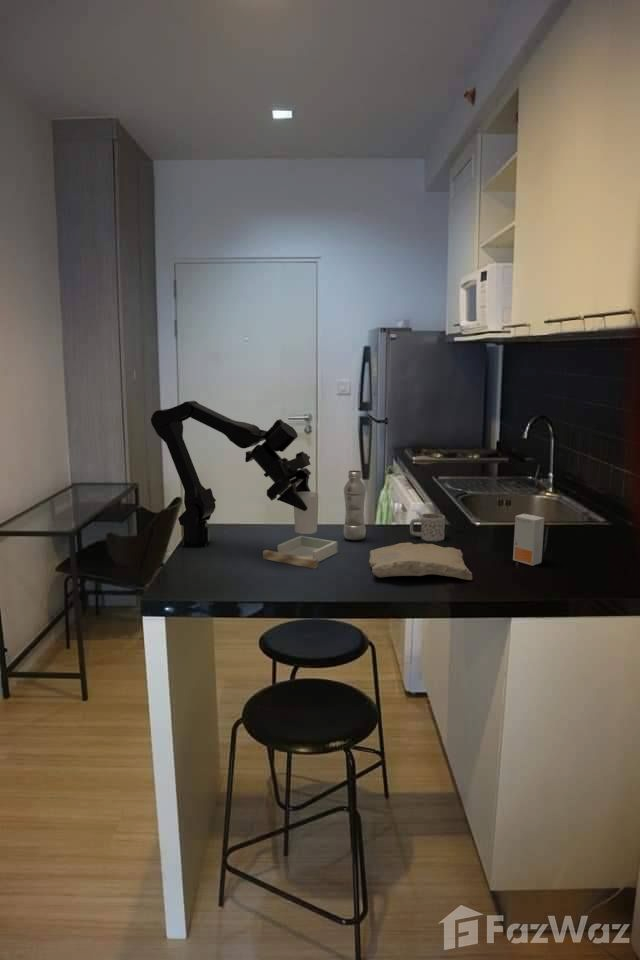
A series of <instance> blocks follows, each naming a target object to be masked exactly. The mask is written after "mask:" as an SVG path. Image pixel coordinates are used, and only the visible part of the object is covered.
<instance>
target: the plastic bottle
mask: <svg viewBox="0 0 640 960" xmlns="http://www.w3.org/2000/svg"><path fill="white" fill-rule="evenodd" d="M347 477H348V481H347V482H346V483H345V485H344V487H343V496H344V502H345V505H344V506H345V518H344V523H343V524H344V525H343V535H344V538H345V539H346V540H350V541H360V540H363V539H364V537H366V531H367V528H366V524H365V514H364V512H365V500H366V494H367V493H366V492H367V489H366V485H365V483H363V481H362V480H361V479H362V471H361V470H359V469H358V470H355V469H354V470H353V469H352V470H349V471H348V476H347Z"/></svg>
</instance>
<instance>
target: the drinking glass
mask: <svg viewBox="0 0 640 960" xmlns="http://www.w3.org/2000/svg"><path fill="white" fill-rule="evenodd" d="M297 493H298V495H299V496H300V498H301V499H302V500H303V502H304V503H305V505H306V506H307V508H308V509H307V510H306V511H303V510H301V509H298V508H296V507H294V506H293V515H294V533H297V534H302V535H309V534H316V533H317V532H318V516H319V515H318V513H319V512H318V511H319V510H318V509H319V493H318V492H314V491H311V492H297Z"/></svg>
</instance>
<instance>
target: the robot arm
mask: <svg viewBox="0 0 640 960" xmlns="http://www.w3.org/2000/svg"><path fill="white" fill-rule="evenodd" d="M151 415H152V416H151V418H150V422H151V426H152V427H153V430H154V431H155V434H156V435H157V436H158V437H159V438H160V439H161V440H162V441H163V442H164V443H165V444H166V446H167V449H168V451H169V453H170V456H171V457H170V458H171V460H172V462H173V465H174V467H175V470H176V472H177V475H178V477H179V480H180V482H181V485H182V488H183V490H184V495H183V496H184V497H183V503H184V508H185V511H183V512H182V513H181V515H180V516H179V517H178V519H177V520H178V522H179V524H180V526H183V527H182V529H183V543H182V547H206V546H207V545H208V543H209V542H210V541H211V535H210V534H211V533H210V532H211V531H210V526H208V521H209V520H210V519H211V516H212V514H213V513H214V512H215V510H216V502H217V500H216V498H215V496H214V495H213V490H212V488H209V487H208V488H205V486H203V485H202V483H201V480H200V479H199V476H198V473H197V471H196V468H195V466H194V463H193V460H192V458H191V456H190V453H189V449H188V448H187V445H186V443H185V440H184V436H183V435H184V424H183V422H184V421H187V420H188V419H190V418H191V419H193V420H194V421H196V422H199V423H201V424H203V425H206V426H207V427H209V428H211V429H213V430H215V431H216V432H220V433H221V434H222V435H225V437H226V438H227V439H228V440H229V441H230V442H231V443H233V444H234V445H235V446H237V447H238V448H240V449H248V448H252V447H254V446H255V447H254V448H253V449H252V450H248V451H246V452H245V459H244V460H245V461H244V462H245V463H249V462H251V461H253V460H254V461H255V463H256V464H257V465H258V466H259V467H260V468H261V469H262V470H263V472H264V473H263V476H264V477H265V478H268V477H269V478H270V480H271V481H272V482H273V484H272V485H270V487H268V489H267V490H266V497H268V499H269V500H270V501H274V500H275V499H276V501H280V502H282V503H284V504H287V505H290V506H292V507H293V508H294V507H296V508H298V509H301V510H303V511H306V510H307V509H308V508H307V506H306V505H305V503H304V502H303V500H302V499H301V498H300V496H299V495H298V493H297V492H312V491H311V489H310V486H309V480H310V475H312V472H311V471H310V470H309V469H308V468H307V467H308V466H311V462H310V459H311V456H309V455H308V453H306V452H304V451H300V452H298V453H296V454H295V458H293V459H290V460H289V459H288V458H287V457H281V456H280V455H279V453H278V452H282V453H283V452H284V451H285V450H287V448H288V447H289V446H290V445H291V444H292V443H293V442H294V441H296V439H297V438H298V437H299V436H298V432H297V431H296V429H295V428H294V427H293V426H291V425H289V424H288V423H286V422H285V421H283V419H281V418H280V419H276V421H274V423H273V425H272V426H271V427H270V428H269V429H268V430H263V429H261V428H260V427H259V426H257V425H255V424H251V423H248V422H244V421H238V420H234V419H231V418H229V417H227V416H225V415H224V414H221V413H219V412H218V411H215V410H214V409H211V408H209V407H207V406H204V405H202V404H200V403H199V402H198V401H197V400H189V401H184V402H182V403H181V404H178V405H175V406H174V407H173V406H172V407H170V408H166V409H159V410H156V411H153V414H151ZM260 442H262V444H259V443H260ZM277 496H278V498H277Z"/></svg>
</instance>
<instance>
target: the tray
mask: <svg viewBox="0 0 640 960" xmlns="http://www.w3.org/2000/svg"><path fill="white" fill-rule="evenodd" d="M338 542H339V541H334V540H328V539H322V538H317V537H309V536H306V535H305V536H304V535H299V536H297V537H294V538H291V539H289V540H287V541H284V542H282V543H280V544H278V545H277V552H280V553H285V554H291V555H296V556H302V557H307V558H312V559H318V563H319V562H321V561H322V562H323V560H325V559H327V558H329V557H332V556H333V555H336V554H337V553H338V552H339V551H338V548H339V547H338V544H339V543H338Z"/></svg>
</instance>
